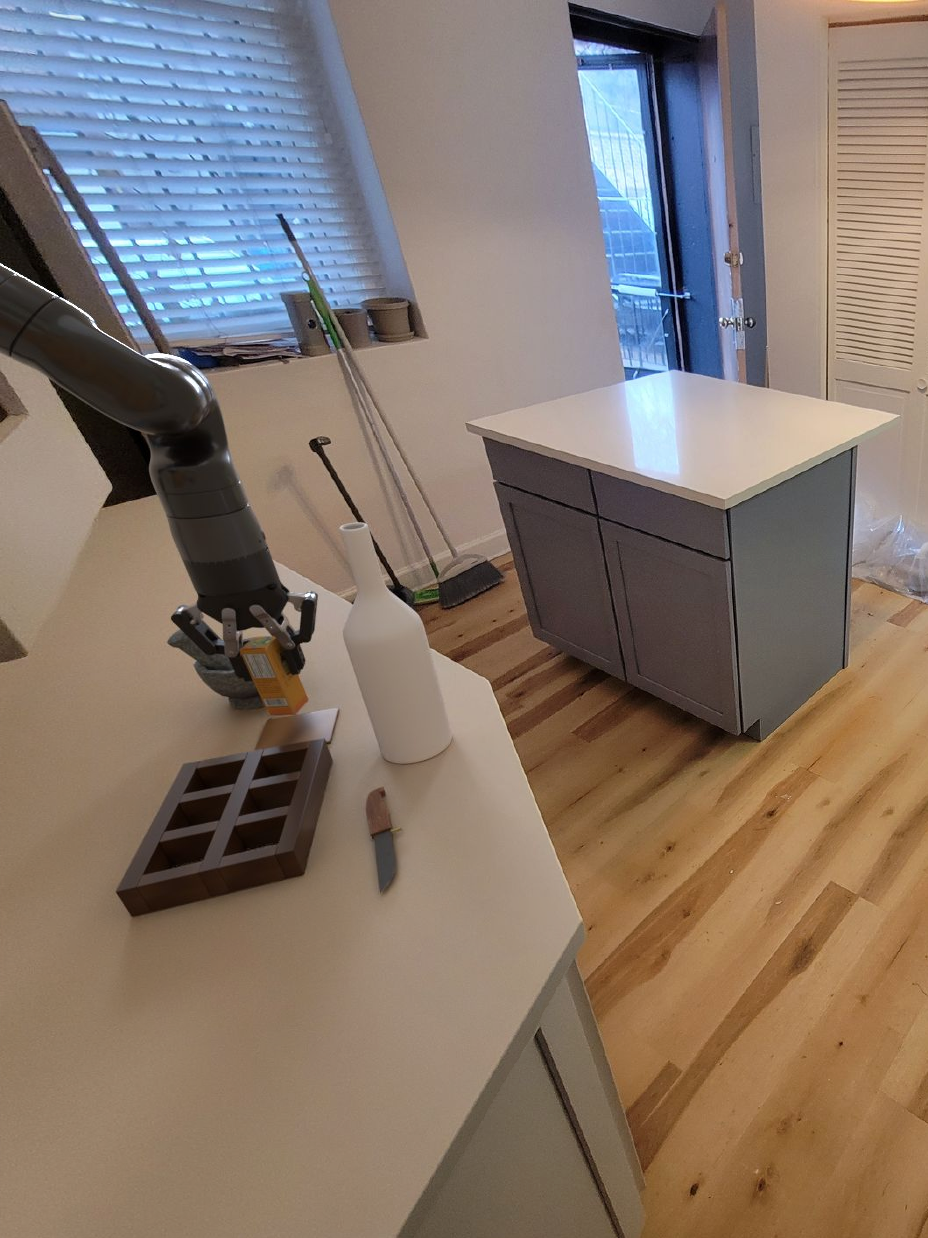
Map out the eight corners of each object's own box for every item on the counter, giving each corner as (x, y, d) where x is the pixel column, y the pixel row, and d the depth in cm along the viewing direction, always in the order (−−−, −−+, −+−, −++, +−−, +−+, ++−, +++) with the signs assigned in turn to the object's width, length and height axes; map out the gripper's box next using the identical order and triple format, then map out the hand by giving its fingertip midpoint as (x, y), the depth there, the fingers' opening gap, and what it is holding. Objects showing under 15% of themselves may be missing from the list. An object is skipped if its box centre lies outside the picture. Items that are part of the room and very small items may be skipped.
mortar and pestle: (299, 671, 102) (272, 599, 96) (304, 701, 96) (275, 626, 90) (200, 694, 96) (164, 618, 90) (199, 728, 89) (160, 649, 84)
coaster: (253, 758, 85) (252, 755, 85) (267, 721, 91) (266, 719, 91) (330, 743, 88) (329, 741, 88) (339, 709, 95) (338, 707, 94)
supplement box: (281, 701, 89) (255, 634, 84) (310, 701, 90) (285, 634, 85) (265, 716, 86) (237, 648, 81) (295, 716, 87) (269, 648, 82)
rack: (131, 917, 65) (114, 892, 63) (194, 786, 80) (183, 763, 79) (304, 874, 70) (293, 850, 69) (333, 760, 86) (324, 737, 84)
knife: (413, 877, 70) (378, 890, 68) (415, 884, 70) (381, 897, 68) (391, 783, 81) (361, 792, 79) (393, 789, 82) (363, 799, 80)
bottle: (456, 752, 88) (399, 532, 74) (383, 772, 84) (306, 544, 70) (448, 719, 94) (393, 509, 80) (379, 736, 90) (308, 519, 76)
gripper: (127, 567, 71) (192, 702, 80) (294, 551, 77) (338, 679, 85) (153, 541, 77) (211, 670, 86) (306, 529, 83) (346, 650, 91)
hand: (274, 674), depth 85 cm, fingers closed on supplement box, 4 cm apart
